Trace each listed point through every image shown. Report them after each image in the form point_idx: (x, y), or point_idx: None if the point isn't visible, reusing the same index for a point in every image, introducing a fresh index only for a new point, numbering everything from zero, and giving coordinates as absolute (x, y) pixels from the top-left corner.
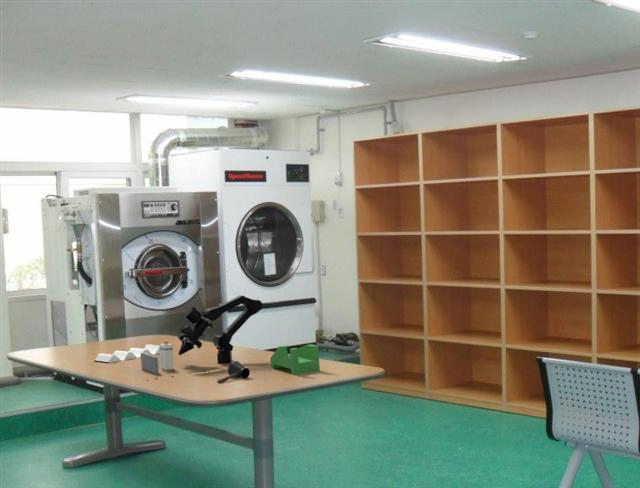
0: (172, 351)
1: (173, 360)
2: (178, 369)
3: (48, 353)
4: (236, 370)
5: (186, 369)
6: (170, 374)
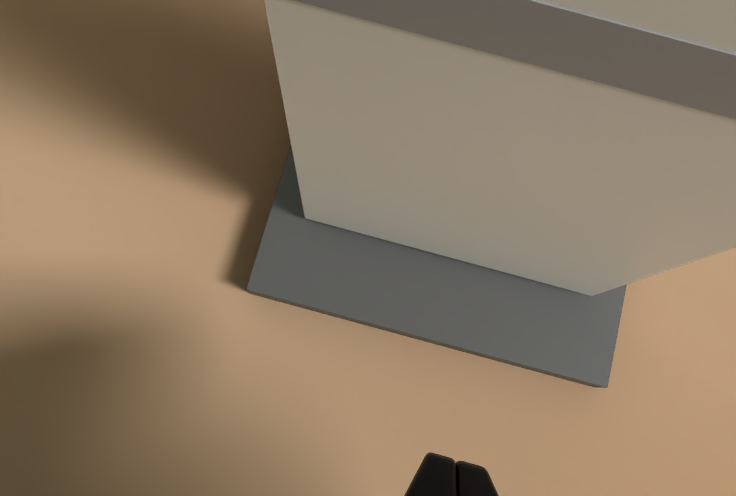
0: (275, 17)
1: (296, 163)
2: (401, 402)
3: None
4: None
5: (240, 485)
6: (113, 9)
